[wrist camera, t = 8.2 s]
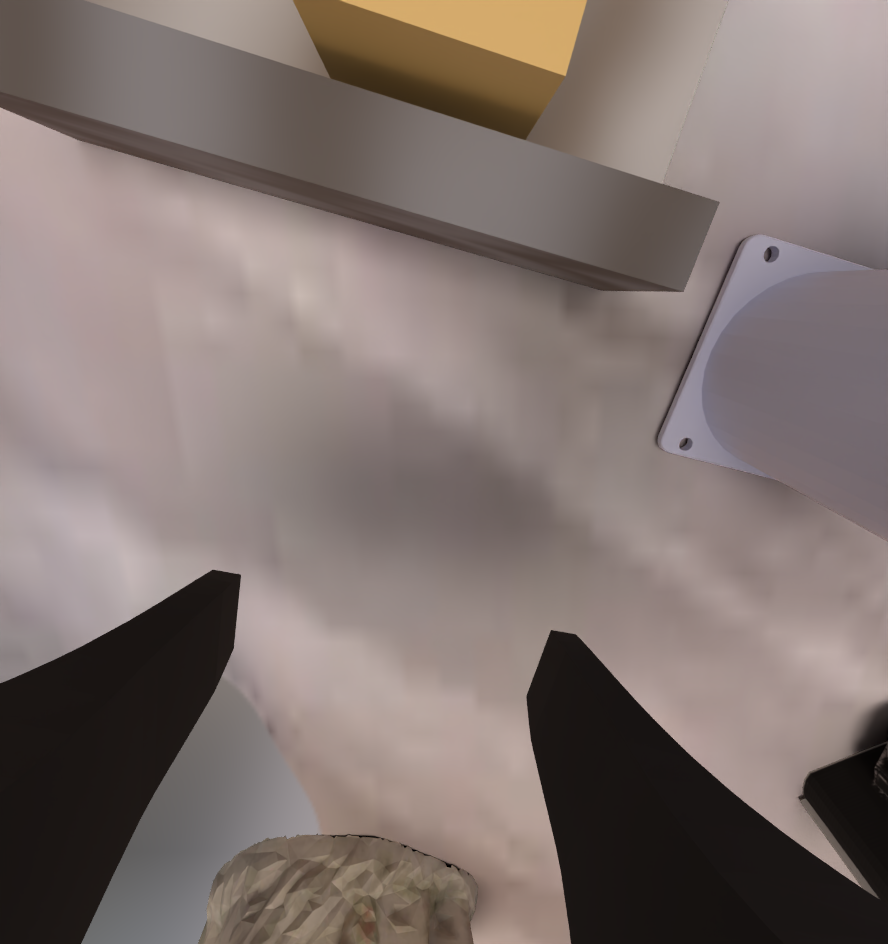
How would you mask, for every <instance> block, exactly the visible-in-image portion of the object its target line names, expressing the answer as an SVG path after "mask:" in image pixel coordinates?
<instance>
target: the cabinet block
mask: <svg viewBox="0 0 888 944" xmlns="http://www.w3.org/2000/svg"><path fill="white" fill-rule="evenodd" d="M293 2H294V4H295V6H296V8H297V10H298V12H299V14H300V17H301V19H302V21H303V23H304V25H305V27H306V29H307V31H308V33H309V35H310V37H311V39H312V41H313V43H314V45H315V48H316V50H317V52H318V54H319V56H320V58H321V60H322V62H323V64H324V66H325V68H326V70H327V72H328V74H329V76H330V78H331V79H334V80H337V81H340V82H343V83H346V84H349V85H353V86H356V87H359V88H362V89H365V90H368V91H371V92H375V93H378V94H381V95H384V96H387V97H390V98H393V99H397V100H400V101H403V102H406V103H409V104H412V105H416V106H419V107H422V108H425V109H428V110H431V111H434V112H438V113H441V114H444V115H447V116H450V117H453V118H456V119H460V120H463V121H466V122H469V123H472V124H475V125H478V126H482V127H485V128H488V129H491V130H494V131H497V132H500V133H504V134H507V135H510V136H513V137H516V138H519V139H523V140H526V138H527V137H528V135H529V133H530V132H531V130H532V129H533V127H534V125H535V124H536V122H537V121H538V119H539V117H540V116H541V114H542V113H543V111H544V110H545V108H546V106H547V105H548V103H549V102H550V100H551V98H552V97H553V95H554V94H555V92H556V91H557V89H558V87H559V86H560V84H561V83H562V81H563V79H564V78H565V76H566V73H567V69H568V66H569V62H570V59H571V55H572V52H573V48H574V45H575V41H576V38H577V34H578V30H579V27H580V23H581V20H582V16H583V13H584V9H585V6H586V2H587V0H293Z"/></svg>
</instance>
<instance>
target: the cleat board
mask: <svg viewBox="0 0 888 944" xmlns="http://www.w3.org/2000/svg"><path fill="white" fill-rule="evenodd" d="M728 1H729V0H587V2H586V6H585V9H584V13H583V16H582V20H581V23H580V27H579V30H578V34H577V38H576V41H575V45H574V48H573V52H572V55H571V59H570V62H569V66H568V69H567V73H566V76H565V78H564V79H563V81H562V83H561V84H560V86H559V87H558V89H557V91H556V92H555V94H554V95H553V97H552V98H551V100H550V102H549V103H548V105H547V106H546V108H545V110H544V111H543V113H542V114H541V116H540V117H539V119H538V121H537V122H536V124H535V125H534V127H533V129H532V130H531V132H530V133H529V135H528V137H527V138H526V140H523V139H519V138H516V137H513V136H510V135H507V134H504V133H500V132H497V131H494V130H491V129H488V128H485V127H482V126H478V125H475V124H472V123H469V122H466V121H463V120H460V119H456V118H453V117H450V116H447V115H444V114H441V113H438V112H434V111H431V110H428V109H425V108H422V107H419V106H416V105H412V104H409V103H406V102H403V101H400V100H397V99H393V98H390V97H387V96H384V95H381V94H378V93H375V92H371V91H368V90H365V89H362V88H359V87H356V86H353V85H349V84H346V83H343V82H340V81H337V80H334V79H331V78H330V76H329V74H328V72H327V70H326V68H325V66H324V64H323V62H322V60H321V58H320V56H319V54H318V52H317V50H316V48H315V45H314V43H313V41H312V39H311V37H310V35H309V33H308V31H307V29H306V27H305V25H304V23H303V21H302V19H301V17H300V14H299V12H298V10H297V8H296V6H295V4H294V2H293V0H0V107H1V108H3V109H5V110H8V111H10V112H13V113H15V114H17V115H20V116H22V117H25V118H27V119H29V120H32V121H34V122H37V123H39V124H41V125H44V126H46V127H48V128H51V129H53V130H56V131H58V132H60V133H63V134H65V135H68V136H70V137H72V138H75V139H77V140H81V141H84V142H88V143H91V144H95V145H98V146H102V147H105V148H109V149H112V150H116V151H119V152H123V153H126V154H130V155H133V156H137V157H140V158H144V159H147V160H150V161H154V162H157V163H161V164H164V165H168V166H171V167H175V168H178V169H182V170H185V171H189V172H192V173H196V174H199V175H203V176H206V177H210V178H213V179H217V180H220V181H223V182H227V183H230V184H234V185H237V186H241V187H244V188H248V189H251V190H255V191H258V192H262V193H265V194H269V195H272V196H276V197H279V198H283V199H286V200H290V201H293V202H297V203H300V204H303V205H307V206H310V207H314V208H317V209H321V210H324V211H328V212H331V213H335V214H338V215H342V216H345V217H349V218H352V219H356V220H359V221H363V222H366V223H370V224H373V225H377V226H380V227H383V228H387V229H390V230H394V231H397V232H401V233H404V234H408V235H411V236H415V237H418V238H422V239H425V240H429V241H432V242H436V243H439V244H443V245H446V246H450V247H453V248H457V249H460V250H463V251H467V252H470V253H474V254H477V255H481V256H484V257H488V258H491V259H495V260H498V261H502V262H505V263H509V264H512V265H516V266H519V267H523V268H526V269H530V270H533V271H537V272H540V273H543V274H547V275H550V276H554V277H557V278H561V279H564V280H568V281H571V282H575V283H578V284H582V285H585V286H589V287H592V288H596V289H599V290H603V291H667V292H684V289H685V287H686V284H687V282H688V279H689V277H690V274H691V272H692V269H693V267H694V264H695V262H696V259H697V257H698V254H699V252H700V249H701V247H702V245H703V242H704V240H705V237H706V235H707V232H708V230H709V227H710V225H711V222H712V220H713V217H714V215H715V212H716V210H717V207H718V205H719V202H718V201H714V200H711V199H708V198H705V197H702V196H699V195H696V194H692V193H689V192H686V191H683V190H680V189H677V188H674V187H670V186H667V185H664V184H662V183H663V180H664V177H665V175H666V172H667V169H668V166H669V164H670V161H671V158H672V155H673V153H674V150H675V147H676V144H677V142H678V139H679V136H680V133H681V131H682V128H683V125H684V122H685V120H686V117H687V114H688V111H689V108H690V106H691V103H692V100H693V97H694V95H695V92H696V89H697V86H698V84H699V81H700V78H701V75H702V73H703V70H704V67H705V64H706V62H707V59H708V56H709V53H710V51H711V48H712V45H713V42H714V40H715V37H716V34H717V31H718V29H719V26H720V23H721V20H722V18H723V15H724V12H725V9H726V6H727V4H728Z"/></svg>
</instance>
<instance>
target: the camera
mask: <svg viewBox="0 0 888 944" xmlns="http://www.w3.org/2000/svg"><path fill="white" fill-rule="evenodd" d="M802 788H803V795H804V798H805V799H803V800H800V801H801V803H802V805H803V806H804V808H805V809H806V810H807V812H808V813H809V815H810V816H811V817H812V819H813V820H814V822H815V823H816V824H817V826H818V827H819V829H820V830H821V831H822V833H823V834H824V835H825V837H826V838H827V840H828V841H829V842H830V844H831V845H832V847H833V848H834V849H835V851H836V852H837V854H838V855H839V856H840V858H841V859H842V861H843V862H844V863H845V865H846V866H847V868H848V869H849V870H850V872H851V873H852V874H853V876H854V877H855V879H856V880H857V881H858V883H859V884H860V886H861V887H862V888H863V889H864V890H866V891H867V892H869V893H870V894H872V895H874V896H875V897H877V898H878V899H880V900H882V901H883V902H885V903H886V904H888V741H887V742H884V743H882V744H879V745H877V746H874V747H871V748H869V749H866V750H864V751H861V752H858V753H856V754H853V755H850V756H848V757H845V758H843V759H841V760H838V761H836V762H833V763H831V764H828V765H826V766H823V767H821V768H818V769H816V770H813V771H811V772H809V773H808V775H807V776H806V778H805V780H804V784H803V787H802Z"/></svg>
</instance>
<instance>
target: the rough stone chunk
mask: <svg viewBox="0 0 888 944" xmlns="http://www.w3.org/2000/svg"><path fill="white" fill-rule="evenodd" d="M477 891H478V886H477V884H476V882H475V880H474V879H473V876H471V875H470V874H469V876H468V874H467V872H466V871H464V870H463V869H460V870H457V869H456V867H454V866H453V865H451V868H449V867H447V866H446V864H445V862H442V861H440V860H439V859H436V858H434V857H432V856H424V854H423V853H419V852H418V851H415V852H413V851H412V849H411V847H408V846H407V847H406V848H404V846H401V844H400V843H397V842H394V841H392V842H389V841H388V840H387V839H384V840H382V839H381V838H378V839H377V838H370V837H362V838H360V837H359V836H351V835H348V836H346V837H338V836H336V837H335V838H333V837H331V836H330V835H324V836H322V835H318V833H317V834H316V835H301V836H300V835H296V837H295V838H294V837H291V838H289V839H286V836H284V837H277V838H274V839H269V838H266V839H265V840H263V841H262V842H258V843H257V844H254V845H252V846H250V847H249V848H247V849H245V850H242V851H240V852H239V853H238V854H237V855H235V856H234V857H233V859H232V860H231V861H229V862H227V863H225V864H224V865H223V867H222V868H221V869H220V871H219V872H218V873H217V875H216V878H215V880H214V881H213V885H212V889H211V892H210V896H209V902H208V906H207V917H208V919H207V922H206V925H205V927H204V930H203V932H202V935H201V937H200V940H199V942H198V944H474V943H473V938H472V933H471V927H470V921H471V918H472V915H473V913H474V912H475V905H476V902H477Z"/></svg>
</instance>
